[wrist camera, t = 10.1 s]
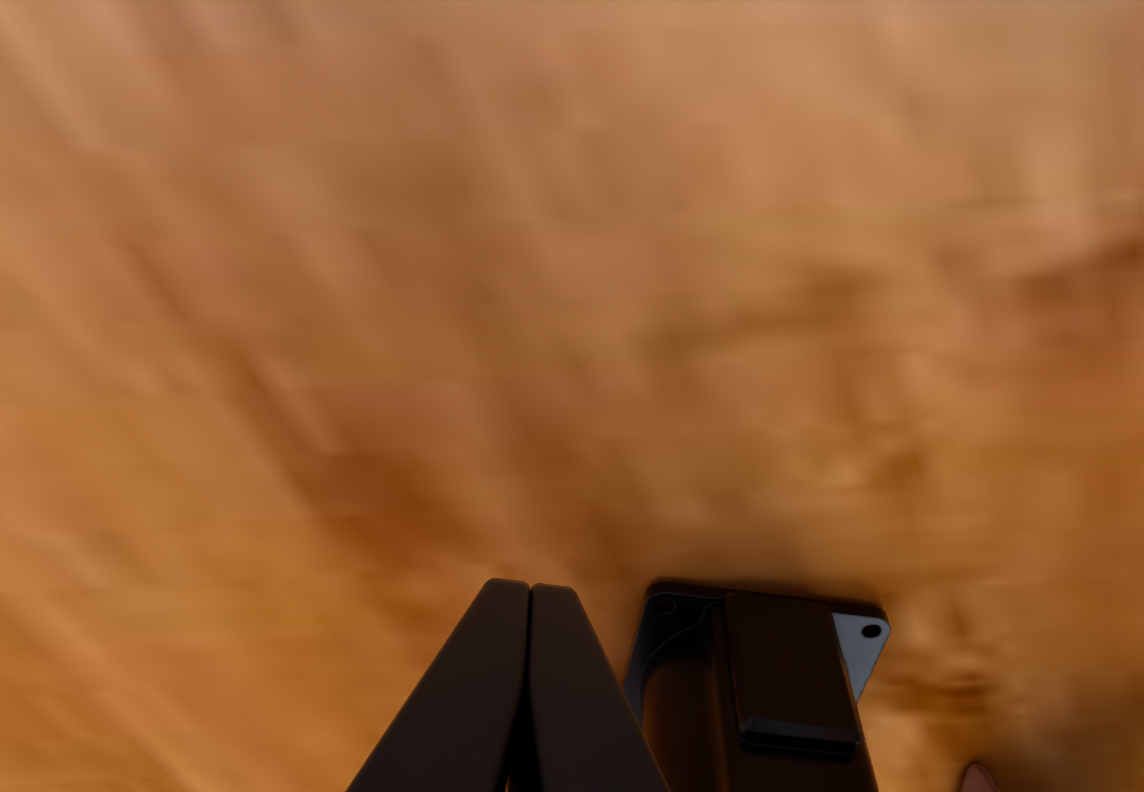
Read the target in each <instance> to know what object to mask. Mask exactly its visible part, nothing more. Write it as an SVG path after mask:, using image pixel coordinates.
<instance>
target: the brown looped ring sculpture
mask: <svg viewBox="0 0 1144 792" xmlns="http://www.w3.org/2000/svg"><path fill="white" fill-rule="evenodd" d="M961 792H1003V791H1001V790H999V789H998V788H997V785H996V783H995V781H994V779H993V778H992V777H991V775H990V774H989V773H988V772H987V770H986V769H985V768H984V767H983V766H982V765H981V764H979V763H974V764H972V765H971V766H970V767H969V768H968V770H967V774H966V777H965V779H964V781H963V784H962V790H961Z"/></svg>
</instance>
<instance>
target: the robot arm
mask: <svg viewBox="0 0 1144 792" xmlns="http://www.w3.org/2000/svg"><path fill="white" fill-rule="evenodd" d="M664 599H667V600H669V601H667V602H660V600H664ZM871 624H874V625H871ZM867 625H871V626H867ZM890 631H891V627H890V624H889V621H888V617H887V615H886V613H885V611H883V610H882V609H881V608H877V607H874V606H866V605H857V604H849V603H841V602H833V601H824V600H816V599H808V598H800V597H791V596H783V595H775V594H766V593H758V592H750V591H742V590H733V589H725V588H717V587H709V586H700V585H692V584H684V583H676V582H657V583H654V584H652V585H651V586H650V587H648V588H647V590H646V592H645V595H644V598H643V602H642V606H641V610H640V614H639V617H638V621H637V625H636V629H635V633H634V637H633V640H632V644H631V648H630V652H629V656H628V660H627V663H626V667H625V671H624V675H623V679H622V682H621V685H620V683H619V681H618V679H617V677H616V675H615V673H614V671H613V669H612V666H611V664H610V662H609V660H608V658H607V656H606V654H605V652H604V650H603V648H602V645H601V643H600V641H599V639H598V637H597V635H596V633H595V631H594V629H593V627H592V625H591V622H590V620H589V618H588V616H587V614H586V612H585V610H584V608H583V606H582V604H581V601H580V599H579V597H578V595H577V594H576V592H575V591H574V590H573V589H572V588H571V587H568V586H559V585H551V584H543V583H537V584H534V585H533V586H532V588H531V591H530V586H529V584H528V583H527V582H524V581H518V580H509V579H501V578H491V579H489V580H488V581H487V582H486V583H485V584H484V586H483V587H482V588H481V590H480V591H479V593H478V594H477V596H476V597H475V599H474V600H473V602H472V603H471V605H470V606H469V608H468V609H467V611H466V612H465V614H464V615H463V617H462V618H461V620H460V621H459V623H458V624H457V626H456V627H455V629H454V630H453V632H452V633H451V635H450V636H449V638H448V639H447V641H446V642H445V644H444V645H443V647H442V648H441V650H440V651H439V653H438V654H437V656H436V657H435V659H434V660H433V662H432V663H431V664H430V666H429V667H428V669H427V670H426V672H425V673H424V675H423V676H422V678H421V679H420V681H419V682H418V684H417V685H416V687H415V688H414V690H413V691H412V693H411V694H410V696H409V697H408V699H407V700H406V702H405V703H404V705H403V706H402V708H401V709H400V711H399V712H398V714H397V715H396V717H395V718H394V720H393V721H392V723H391V724H390V726H389V727H388V729H387V730H386V732H385V733H384V735H383V736H382V738H381V739H380V741H379V742H378V743H377V745H376V746H375V748H374V749H373V751H372V752H371V754H370V755H369V757H368V758H367V760H366V761H365V763H364V764H363V766H362V767H361V769H360V770H359V772H358V773H357V775H356V776H355V778H354V779H353V781H352V782H351V784H350V785H349V787H348V788H347V790H346V791H345V792H505V791H506V792H879V789H878V785H877V782H876V778H875V774H874V770H873V766H872V762H871V759H870V755H869V751H868V747H867V743H866V739H865V735H864V732H863V728H862V724H861V720H860V716H859V712H858V708H857V705H856V704H857V702H858V700H859V698H860V696H861V694H862V692H863V689H864V687H865V685H866V683H867V681H868V679H869V677H870V675H871V672H872V670H873V668H874V666H875V664H876V662H877V660H878V658H879V656H880V653H881V651H882V649H883V647H884V645H885V643H886V641H887V639H888V636H889V634H890Z"/></svg>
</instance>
